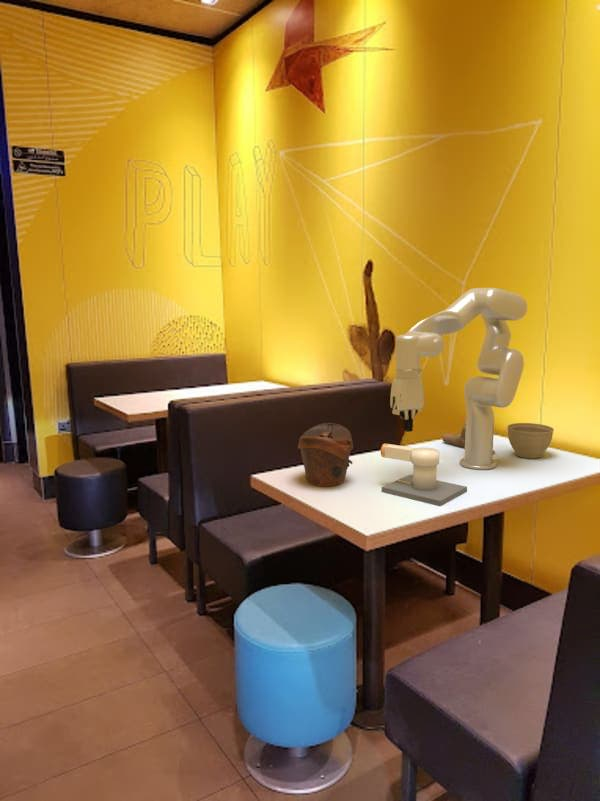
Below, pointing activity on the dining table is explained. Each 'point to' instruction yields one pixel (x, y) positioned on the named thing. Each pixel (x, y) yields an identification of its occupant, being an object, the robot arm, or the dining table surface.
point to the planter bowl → (529, 439)
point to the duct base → (425, 495)
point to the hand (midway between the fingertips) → (407, 430)
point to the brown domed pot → (326, 454)
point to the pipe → (456, 438)
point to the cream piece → (411, 454)
